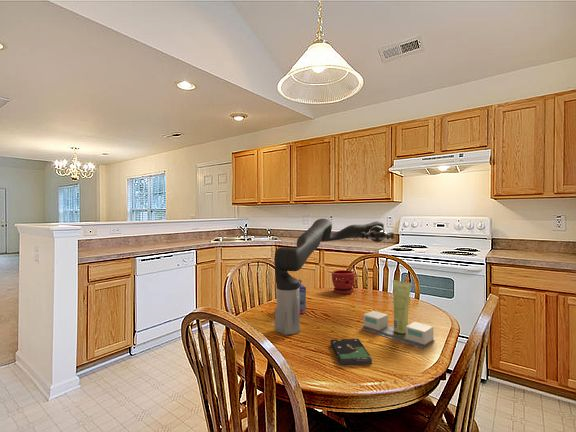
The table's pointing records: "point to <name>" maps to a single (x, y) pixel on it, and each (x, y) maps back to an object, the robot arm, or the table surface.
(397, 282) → the tube
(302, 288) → the ink cartridge box
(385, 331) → the rail plate
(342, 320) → the table surface
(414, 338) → the mounted blocks
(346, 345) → the disk drive
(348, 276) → the plant pot
